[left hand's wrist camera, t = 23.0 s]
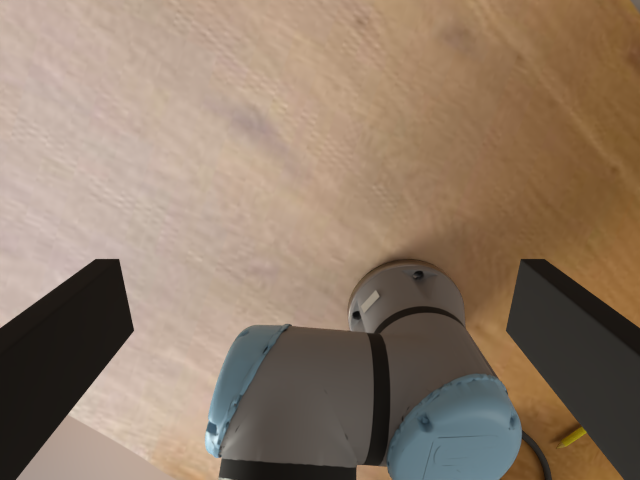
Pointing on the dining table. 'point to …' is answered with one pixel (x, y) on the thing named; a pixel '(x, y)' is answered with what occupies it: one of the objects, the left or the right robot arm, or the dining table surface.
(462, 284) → the dining table surface
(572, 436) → the pencil
